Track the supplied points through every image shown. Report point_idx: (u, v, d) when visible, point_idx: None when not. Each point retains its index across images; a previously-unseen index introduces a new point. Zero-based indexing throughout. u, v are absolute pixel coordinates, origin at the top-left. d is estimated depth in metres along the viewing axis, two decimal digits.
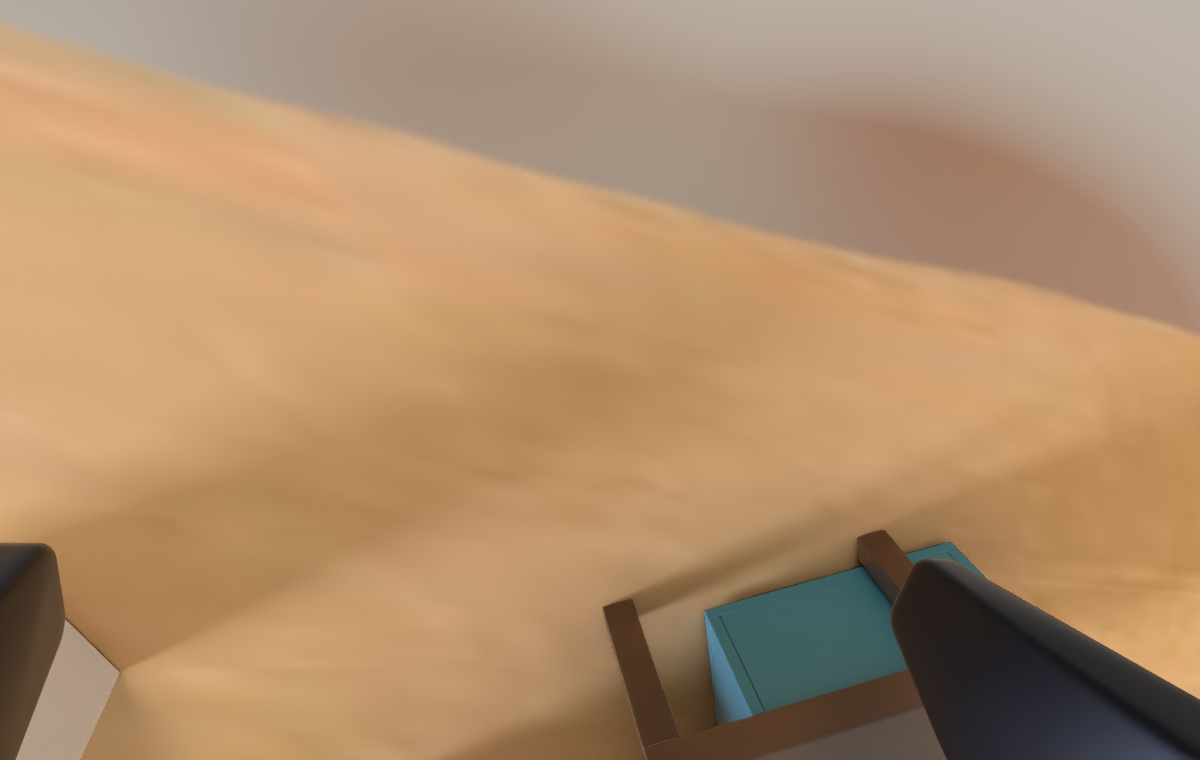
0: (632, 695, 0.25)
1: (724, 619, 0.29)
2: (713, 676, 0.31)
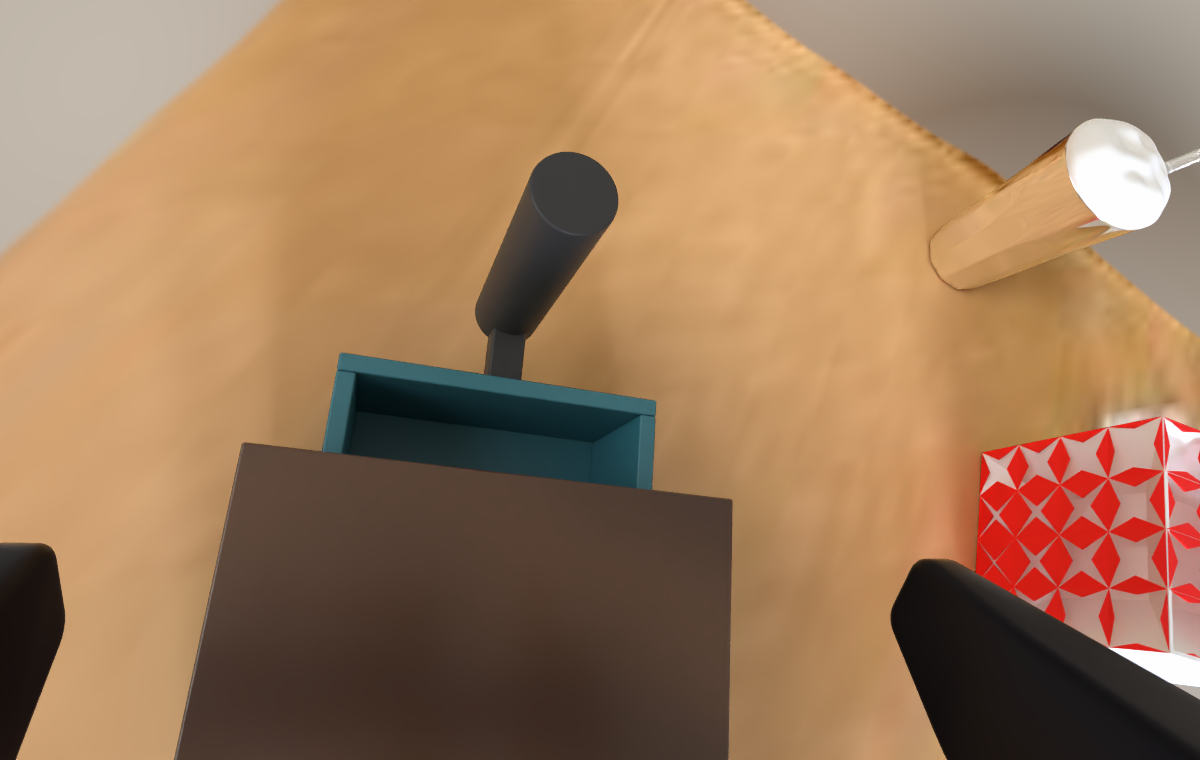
0: None
1: None
2: None
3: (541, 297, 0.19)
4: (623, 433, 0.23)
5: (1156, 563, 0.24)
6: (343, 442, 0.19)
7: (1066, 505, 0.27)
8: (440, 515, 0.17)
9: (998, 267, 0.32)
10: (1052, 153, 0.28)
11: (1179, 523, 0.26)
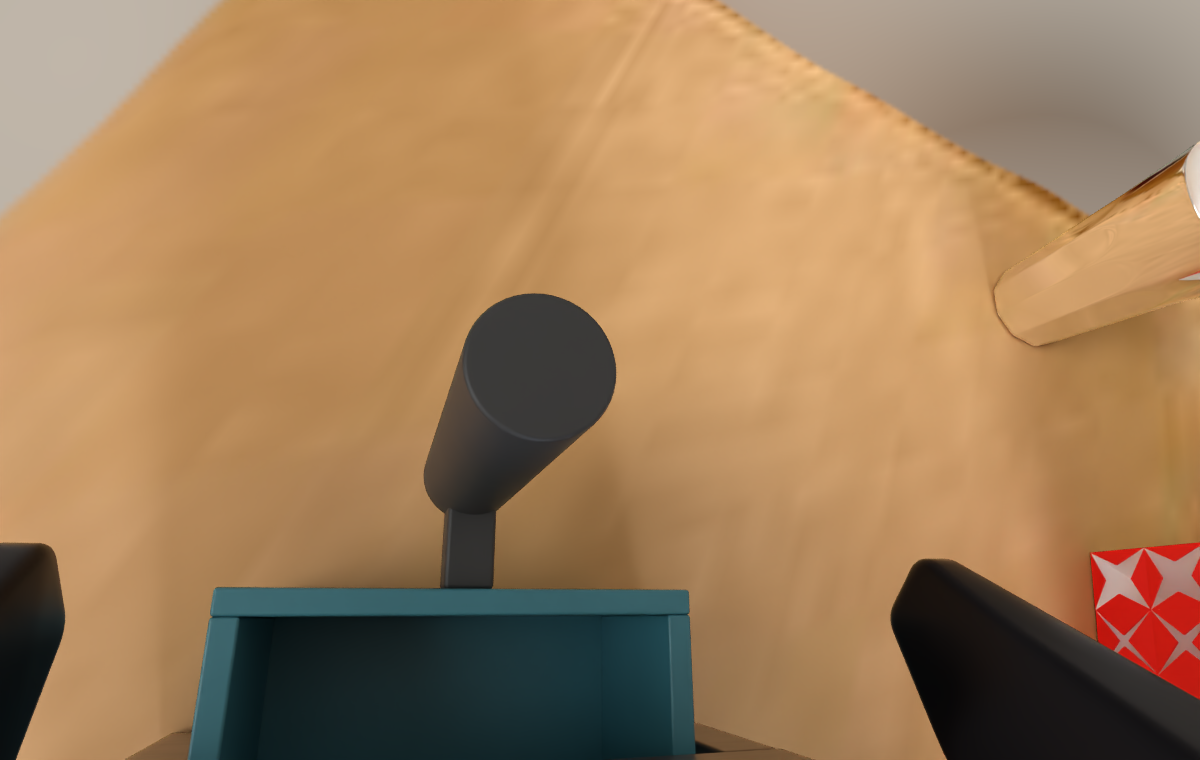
0: None
1: None
2: None
3: (508, 489, 0.12)
4: (645, 629, 0.16)
5: None
6: (222, 734, 0.12)
7: None
8: None
9: (1090, 320, 0.25)
10: (1163, 180, 0.22)
11: None
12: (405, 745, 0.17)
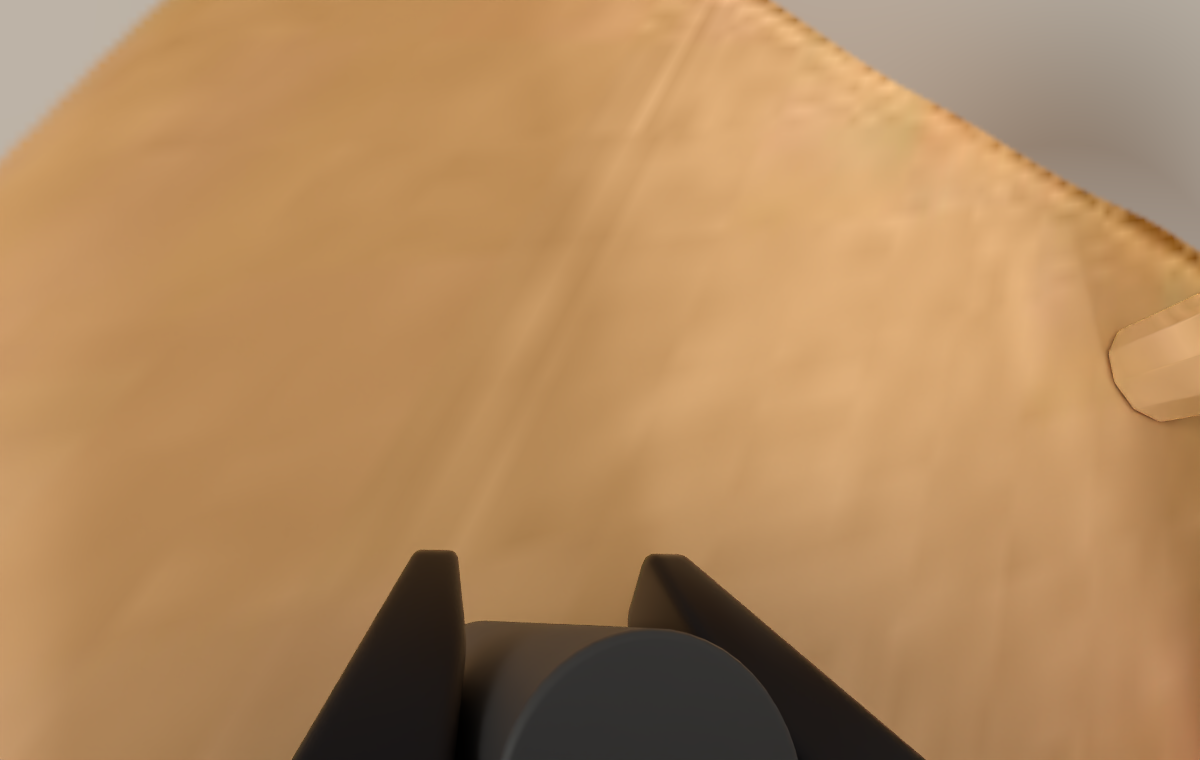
0: None
1: None
2: None
3: None
4: None
5: None
6: None
7: None
8: None
9: None
10: None
11: None
12: None
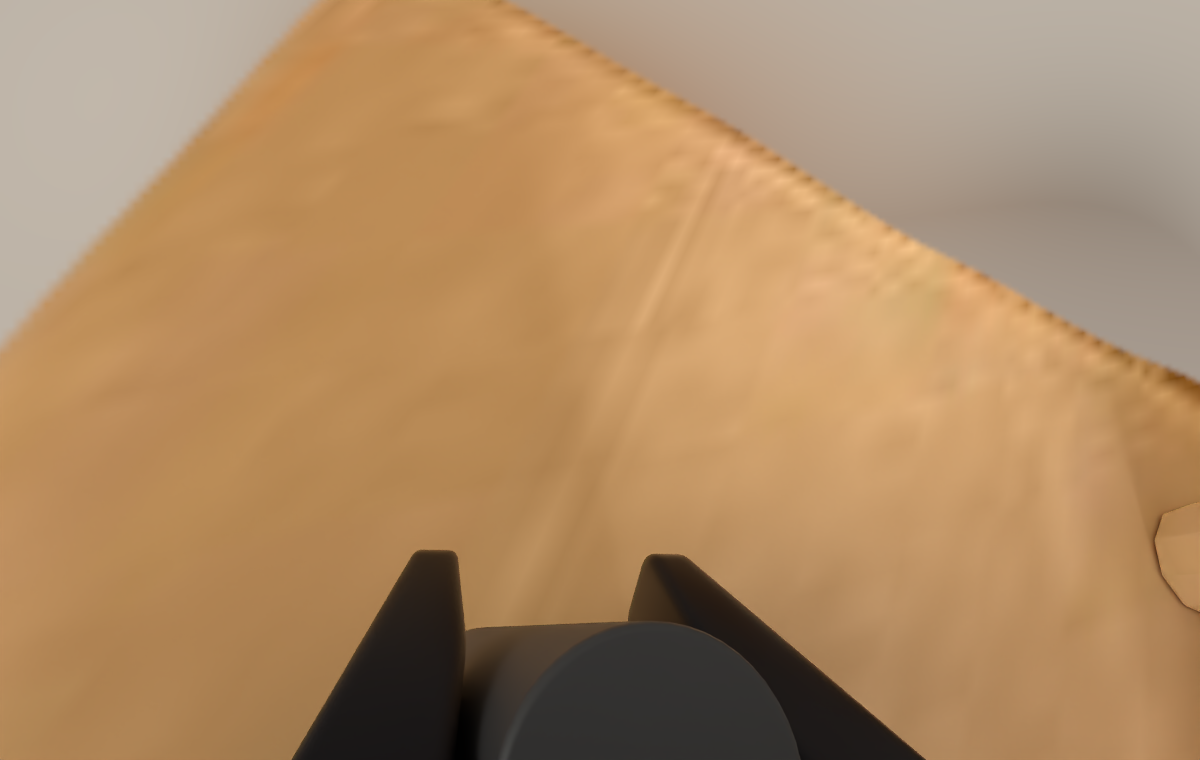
0: None
1: None
2: None
3: None
4: None
5: None
6: None
7: None
8: None
9: None
10: None
11: None
12: None
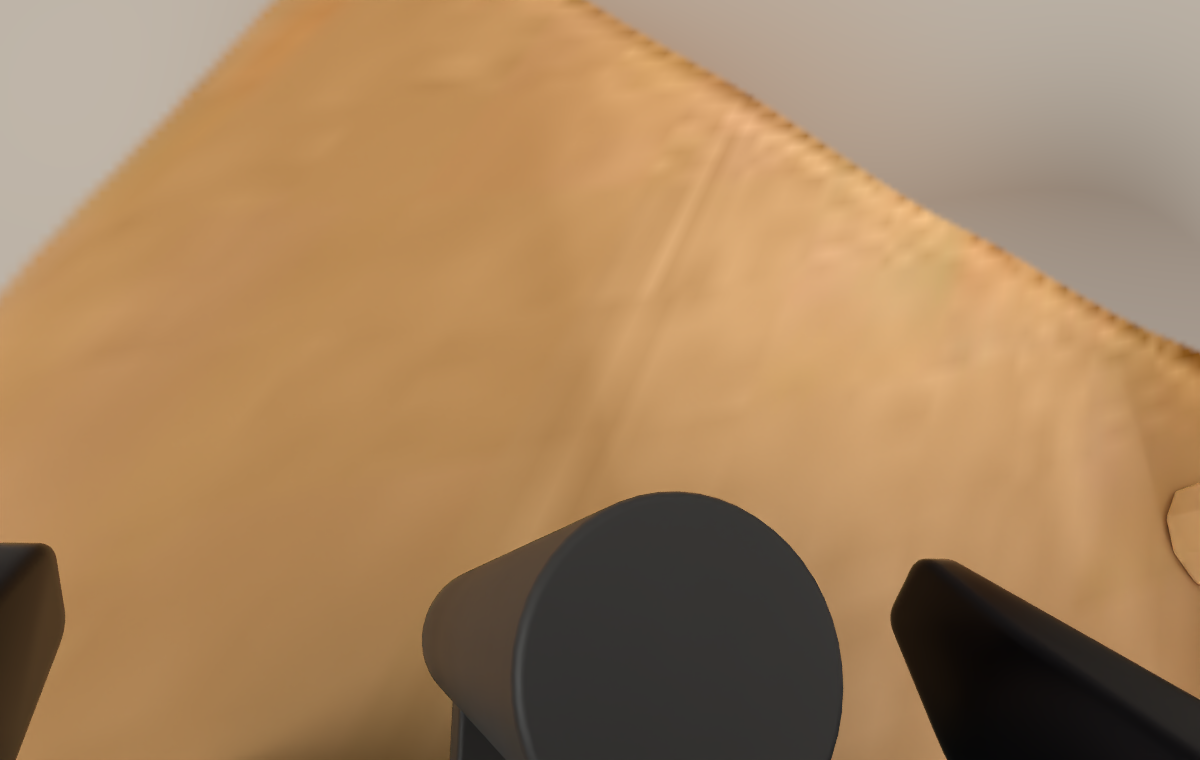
0: None
1: None
2: None
3: None
4: None
5: None
6: None
7: None
8: None
9: None
10: None
11: None
12: None
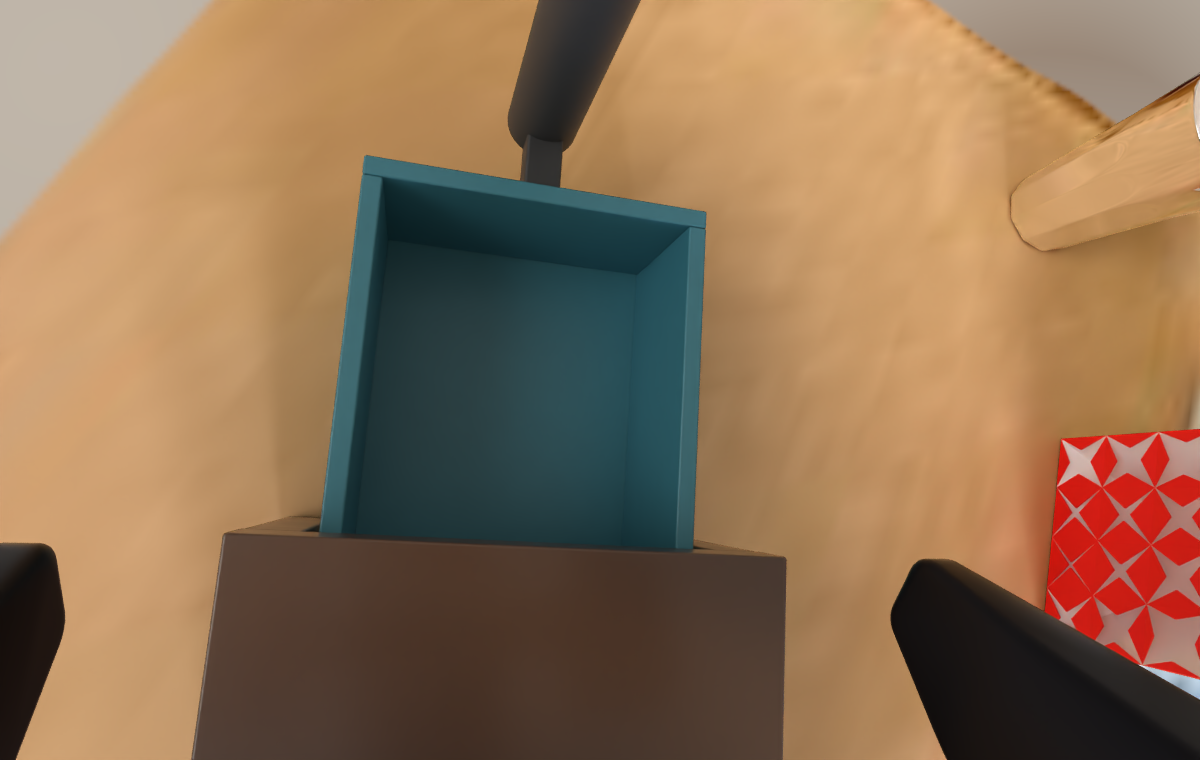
0: None
1: None
2: None
3: (579, 81, 0.17)
4: (670, 252, 0.21)
5: None
6: (373, 250, 0.18)
7: (1162, 513, 0.24)
8: (453, 601, 0.15)
9: (1093, 229, 0.27)
10: (1175, 99, 0.23)
11: None
12: (484, 343, 0.23)
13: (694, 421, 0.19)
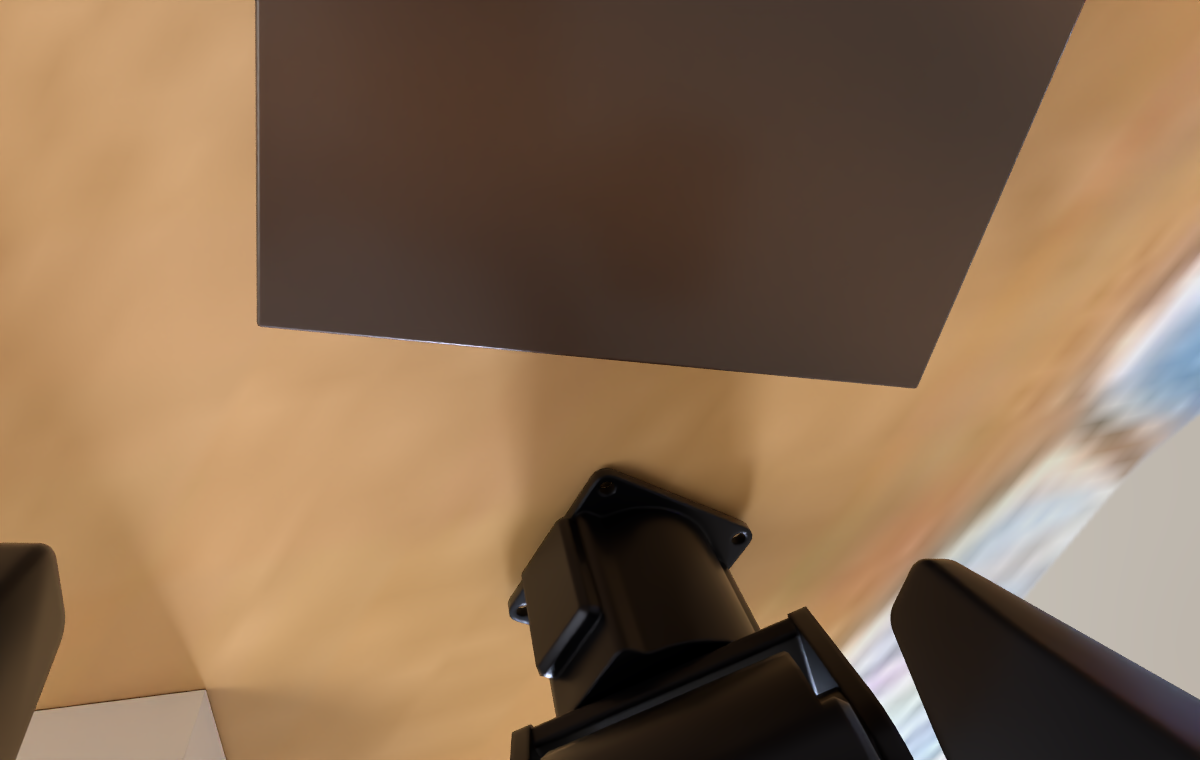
0: None
1: None
2: None
3: None
4: None
5: None
6: None
7: None
8: None
9: None
10: None
11: None
12: None
13: None
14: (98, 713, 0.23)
